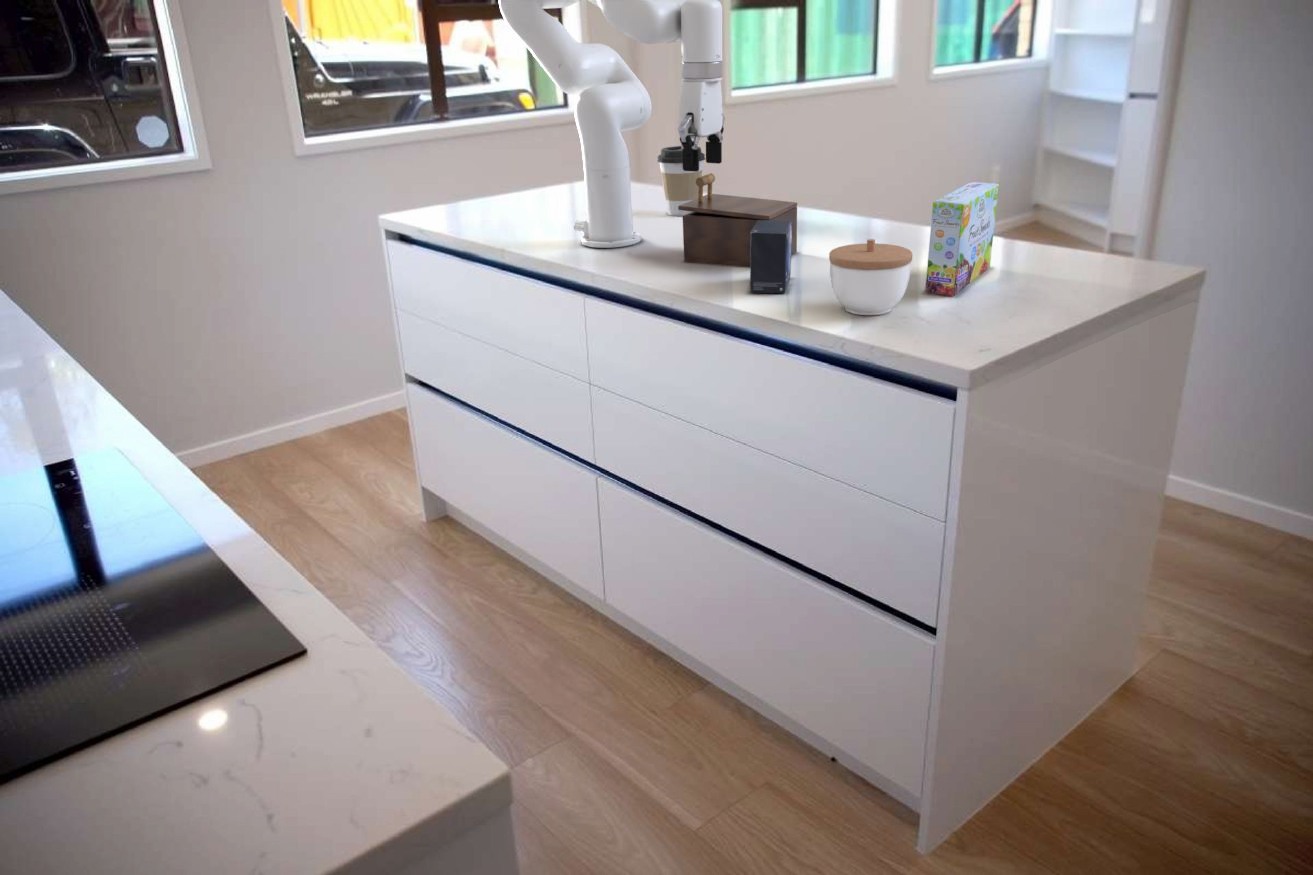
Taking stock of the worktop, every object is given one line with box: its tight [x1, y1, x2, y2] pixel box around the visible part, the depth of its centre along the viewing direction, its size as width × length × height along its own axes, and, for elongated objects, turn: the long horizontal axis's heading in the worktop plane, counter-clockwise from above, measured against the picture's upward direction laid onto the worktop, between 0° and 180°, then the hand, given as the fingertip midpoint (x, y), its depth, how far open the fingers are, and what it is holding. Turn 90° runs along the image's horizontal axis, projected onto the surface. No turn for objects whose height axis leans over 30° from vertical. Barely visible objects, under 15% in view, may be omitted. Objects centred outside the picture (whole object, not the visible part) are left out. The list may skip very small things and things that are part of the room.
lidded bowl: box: [828, 238, 913, 316], centre depth 156 cm, size 13×13×11 cm
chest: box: [682, 206, 798, 268], centre depth 192 cm, size 18×14×9 cm
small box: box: [749, 220, 792, 294], centre depth 171 cm, size 11×6×10 cm, turn 168°
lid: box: [678, 172, 798, 220], centre depth 189 cm, size 19×14×6 cm
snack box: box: [924, 181, 1000, 297], centre depth 168 cm, size 21×6×15 cm, turn 148°
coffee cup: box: [656, 145, 706, 217], centre depth 235 cm, size 11×11×15 cm
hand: (702, 167), depth 191 cm, fingers open, 9 cm apart
